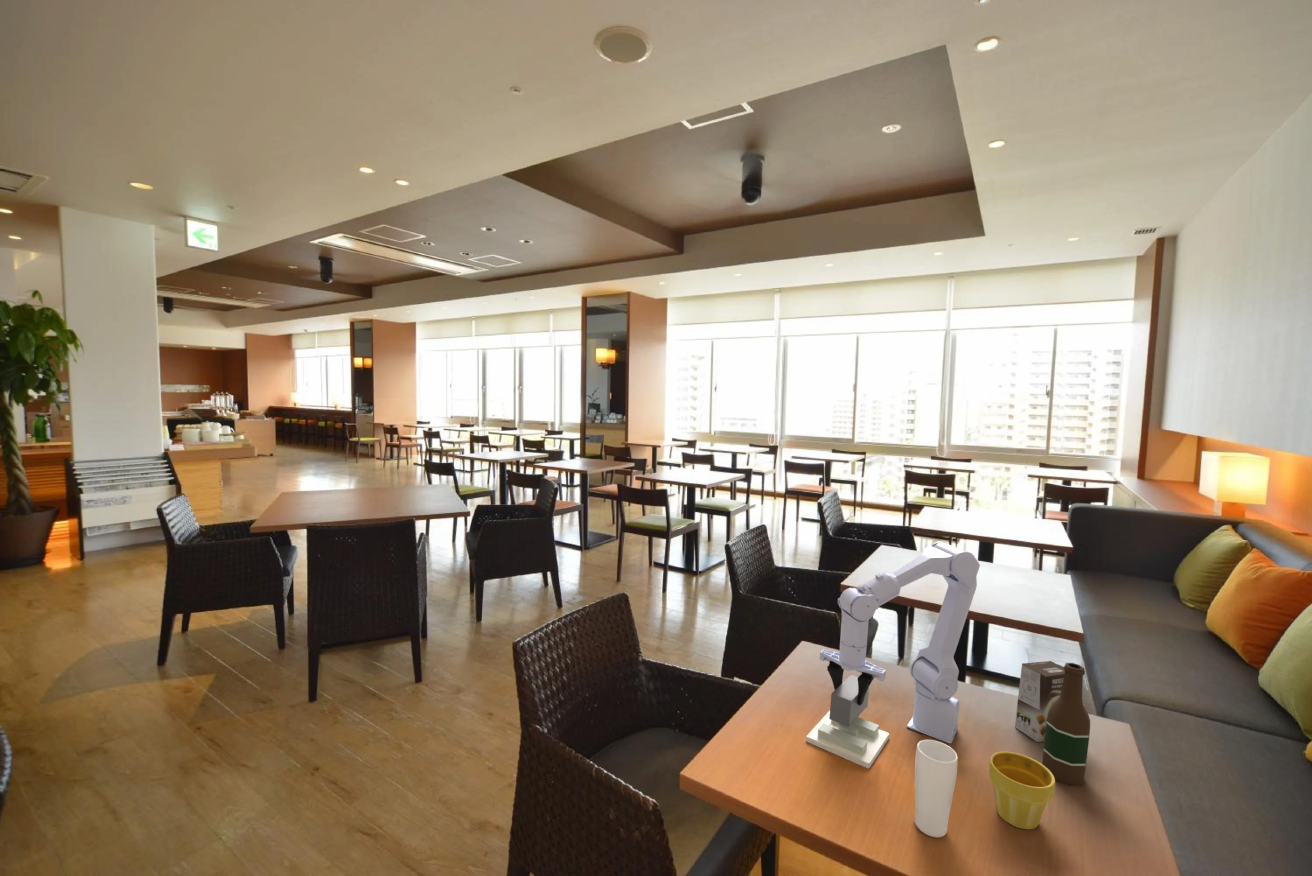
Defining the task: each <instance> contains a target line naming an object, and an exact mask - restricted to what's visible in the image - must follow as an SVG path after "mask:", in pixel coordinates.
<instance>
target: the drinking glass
mask: <svg viewBox="0 0 1312 876" xmlns="http://www.w3.org/2000/svg"><path fill="white" fill-rule="evenodd" d="M958 759H959V758H958V754H957V752H956V751H955V750H954V749H953V748H952V747H951V746H949V745H947V744H946V743H943V741H938V740H934V739H923V740H920V741H918V742H917V745H916V751H915V759H914V761H915V762H914V798H915V799H914V803H915V804H914V810H915V811H914V823H915V826H916V828H917V829H918V830H919V831H920V832H922V833H923V834H925V835H927V836H929V837H932V838H942V837H945V835H947V832H948V822H949V817H950V813H951V807H952V801H953V797H954V794H955V786H956V782H957V776H958V775H957V774H958V761H959V760H958Z"/></svg>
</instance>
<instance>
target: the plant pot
mask: <svg viewBox="0 0 1312 876" xmlns="http://www.w3.org/2000/svg"><path fill="white" fill-rule="evenodd" d="M988 763H989V764H988V777H989V780H990V782H991V783H992V785H993V786H992V787H993V792H994V799H995V806H996V811H997V813H998V815H999V816H1000V818H1001V819H1002V820H1003V821H1005V822H1006V823H1008V824H1009V825H1012V826H1013V827H1016V828H1019V829H1021V830H1033V829H1036V828H1037V827H1038V826H1039V825H1040V822H1041V820H1042V816H1043V814H1044V811H1045V810H1046V808H1047V804H1049V803H1050V802H1052V800H1054V795H1055V789H1056V780H1055V778H1054V776H1053V774H1052V773H1051V772H1050V770H1049V769H1047V768H1046V767H1045V766H1044V765H1042V762H1039V761H1038V760H1036V759H1034V758H1031V757H1029V756H1027V755H1025V754H1023V753H1022V754H1021V753H1017V752H1012V751H997V752H995V753H993V754H992V755H990V758H989V762H988Z"/></svg>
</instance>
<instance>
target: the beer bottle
mask: <svg viewBox="0 0 1312 876" xmlns="http://www.w3.org/2000/svg"><path fill="white" fill-rule="evenodd" d="M1063 667H1064V668H1063V669H1064V670H1065V673H1064V679H1063V684H1062V689H1061V694H1060V697H1059V698H1058V699H1057V700H1056V701H1054V702H1053V704H1052V705H1051V707H1050V709H1049V712H1048V716H1047V721H1046V730H1045V739H1044V741H1043V749H1042V751H1043V752H1042V761H1041V764H1042V765H1044V766H1045V767H1046V768H1047V769H1049V770H1050V772H1051V773H1052V774H1053V776H1054V778H1055V782H1056V781H1057V782H1059V783H1062V784H1064V785H1067V786H1082V785H1083V784H1084V780H1085V775H1086V770H1087V769H1086V767H1087V761H1088V752H1089V742H1090V735H1091V719H1090V715H1089V713H1088V711H1087V710H1086V708H1085V706H1084V703H1083V701H1084V700H1083V689H1084V688H1083V683H1084V682H1083V681H1084V676H1085V674H1086V670H1085V668H1084V667H1083V666H1082V665H1080V664H1077V663H1074V662H1065V664H1064V666H1063Z"/></svg>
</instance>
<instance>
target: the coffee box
mask: <svg viewBox="0 0 1312 876" xmlns="http://www.w3.org/2000/svg"><path fill="white" fill-rule="evenodd" d="M1063 668H1064V666H1062V665H1060V664H1057V663H1055V662H1053V661H1052V660H1045V661H1037V662H1026V663H1025V662H1024V663H1021V669H1020V677H1019V688H1018V697H1017V707H1016V714H1015V722H1014V728H1016V729H1017V730H1018V731H1020V732H1021V733H1023V734H1025V735H1026V736H1027V737H1029V738H1031V739H1033V740H1034V741H1035V742H1039V743H1040V742H1044V739H1045V730H1046V721H1047V716H1048V712H1049V709H1050V707H1051V705H1052V704H1053V702H1054V701H1056V700H1057V699H1058V698H1059V697H1060V694H1061V689H1062V684H1063V679H1064V673H1065V670H1064V669H1063Z"/></svg>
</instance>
